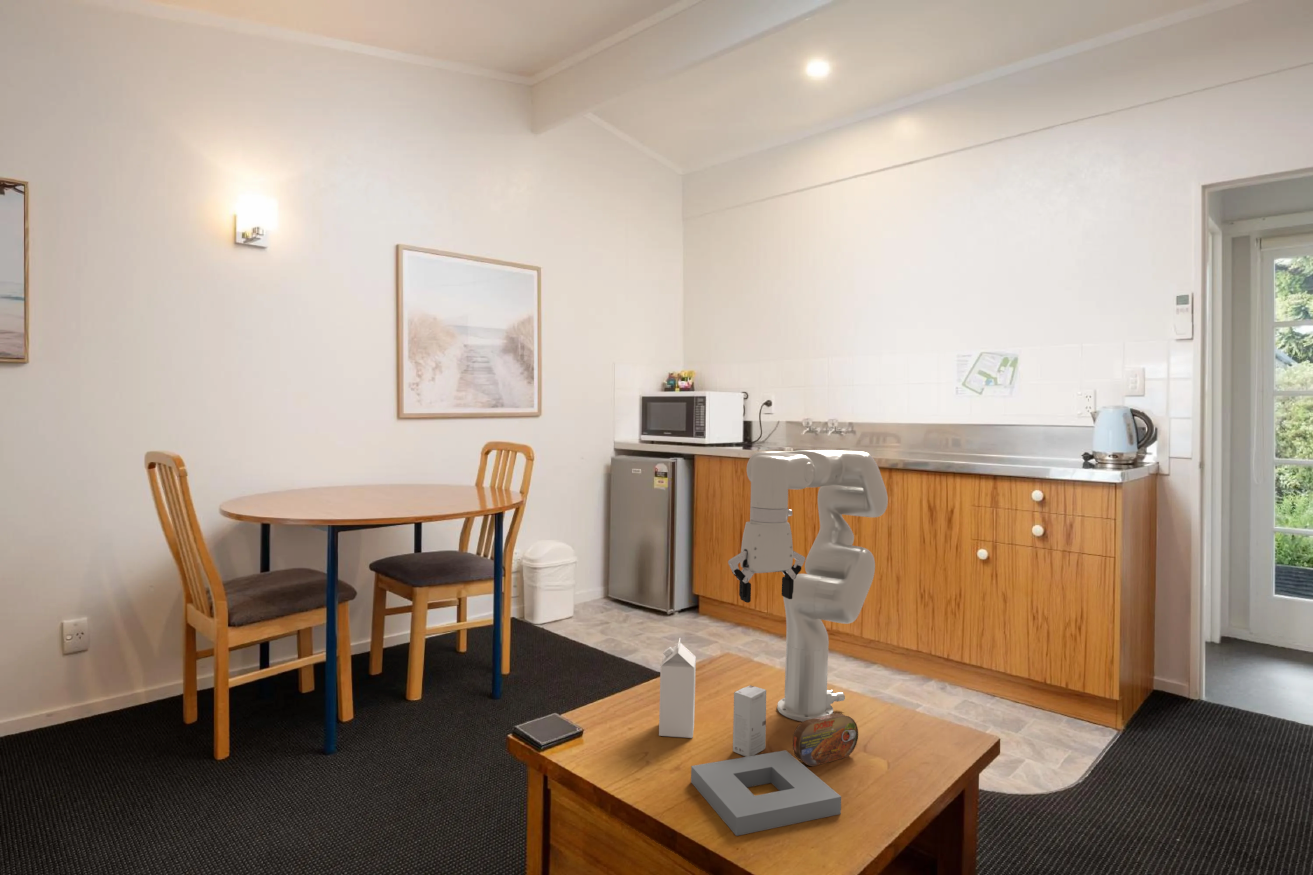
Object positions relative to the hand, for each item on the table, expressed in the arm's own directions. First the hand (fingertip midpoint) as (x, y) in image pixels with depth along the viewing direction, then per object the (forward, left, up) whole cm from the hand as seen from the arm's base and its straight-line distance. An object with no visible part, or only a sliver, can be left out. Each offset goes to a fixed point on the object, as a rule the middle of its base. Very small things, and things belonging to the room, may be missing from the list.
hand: (766, 599), depth 148 cm
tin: (-9, +9, -31) cm, 33 cm away
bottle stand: (+10, +18, -30) cm, 37 cm away
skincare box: (+4, +1, -31) cm, 31 cm away
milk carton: (+14, -12, -31) cm, 36 cm away
